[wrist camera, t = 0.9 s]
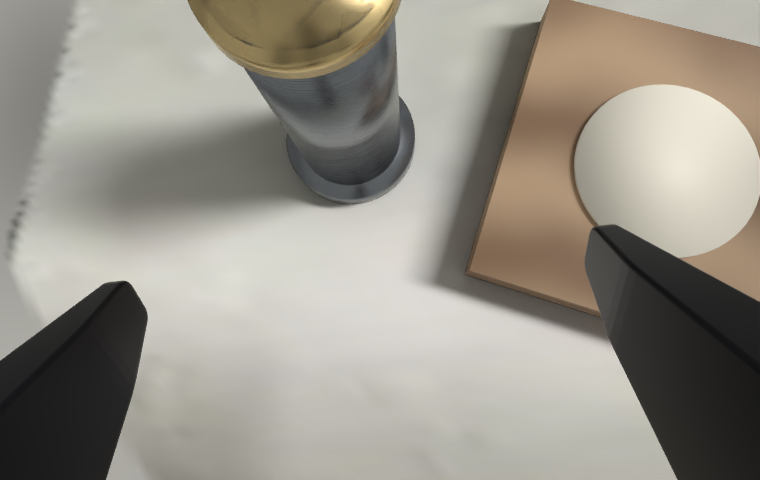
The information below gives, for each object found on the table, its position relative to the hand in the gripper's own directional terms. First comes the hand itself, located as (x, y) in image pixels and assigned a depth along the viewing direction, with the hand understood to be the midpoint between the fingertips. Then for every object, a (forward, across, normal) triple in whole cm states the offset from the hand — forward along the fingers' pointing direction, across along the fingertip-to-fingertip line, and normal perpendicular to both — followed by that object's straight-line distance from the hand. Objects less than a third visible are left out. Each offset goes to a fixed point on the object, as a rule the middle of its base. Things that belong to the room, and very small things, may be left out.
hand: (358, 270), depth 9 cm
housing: (+16, +1, +5) cm, 16 cm away
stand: (+13, -13, +8) cm, 20 cm away
